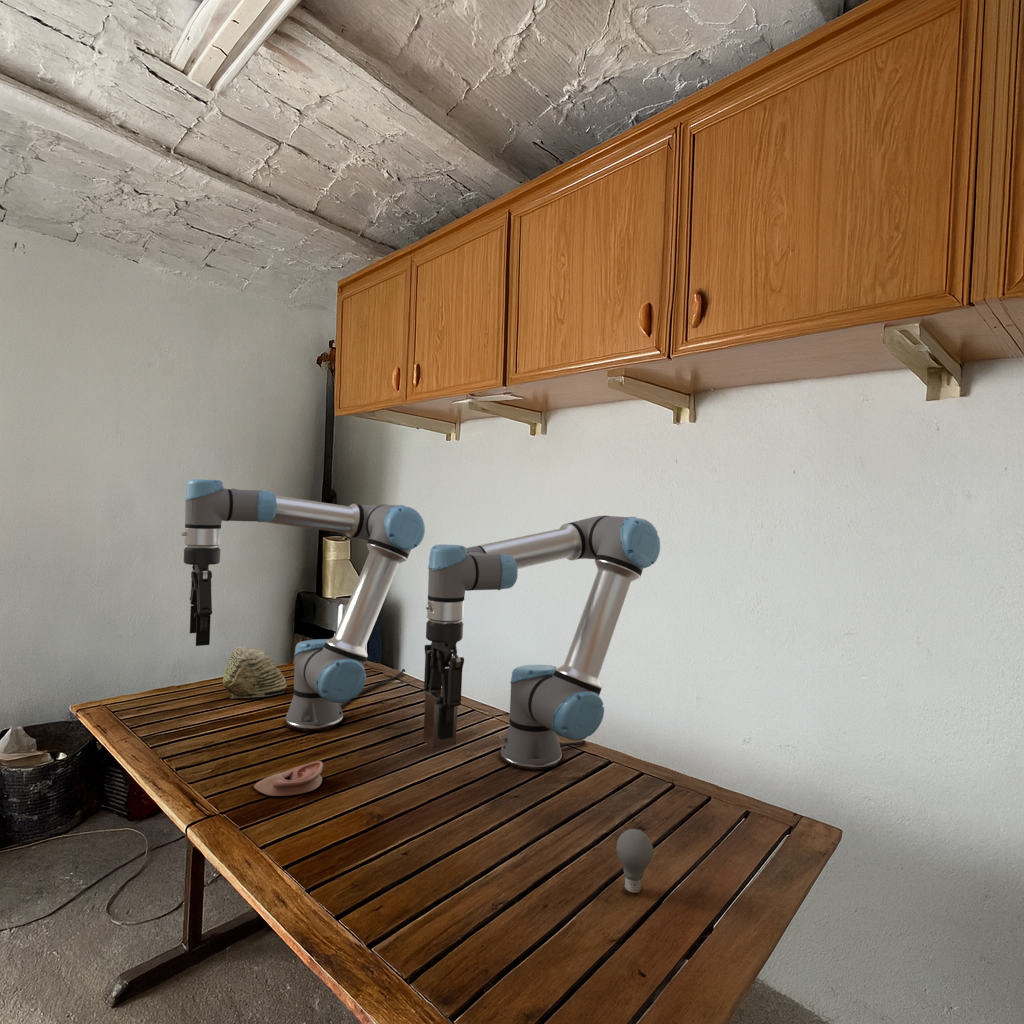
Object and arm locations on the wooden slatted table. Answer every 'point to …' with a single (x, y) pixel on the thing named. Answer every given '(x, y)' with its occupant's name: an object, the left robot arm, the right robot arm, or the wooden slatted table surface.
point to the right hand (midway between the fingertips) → (440, 733)
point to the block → (436, 720)
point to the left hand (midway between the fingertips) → (199, 638)
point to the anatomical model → (292, 781)
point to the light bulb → (634, 857)
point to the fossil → (252, 674)
